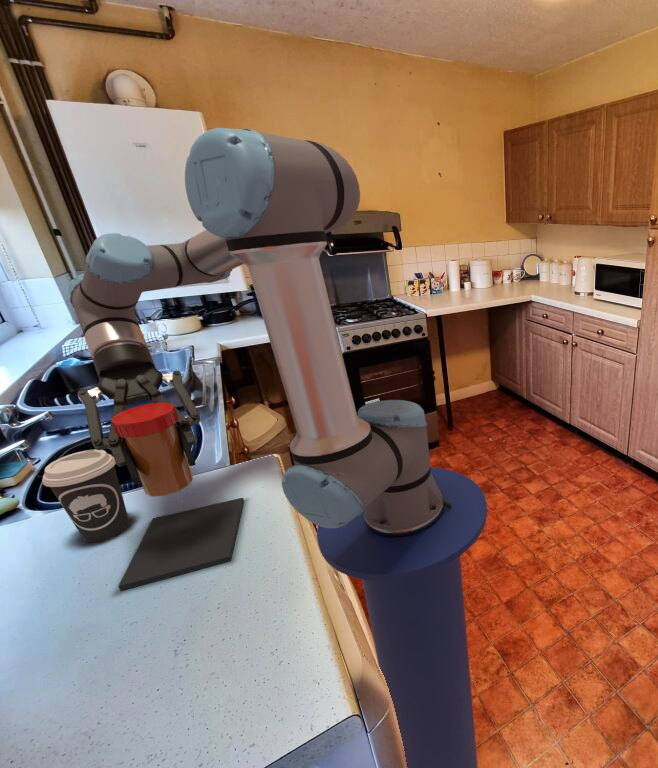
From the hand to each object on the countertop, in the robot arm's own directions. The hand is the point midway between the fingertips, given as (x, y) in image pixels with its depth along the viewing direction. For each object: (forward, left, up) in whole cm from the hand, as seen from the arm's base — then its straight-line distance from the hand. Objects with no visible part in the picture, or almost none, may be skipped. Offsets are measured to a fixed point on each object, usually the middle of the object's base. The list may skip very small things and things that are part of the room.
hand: (165, 471), depth 70 cm
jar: (+1, -3, -4) cm, 6 cm away
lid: (+1, -3, +9) cm, 10 cm away
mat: (+1, -3, -16) cm, 16 cm away
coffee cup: (+16, -13, -16) cm, 27 cm away
